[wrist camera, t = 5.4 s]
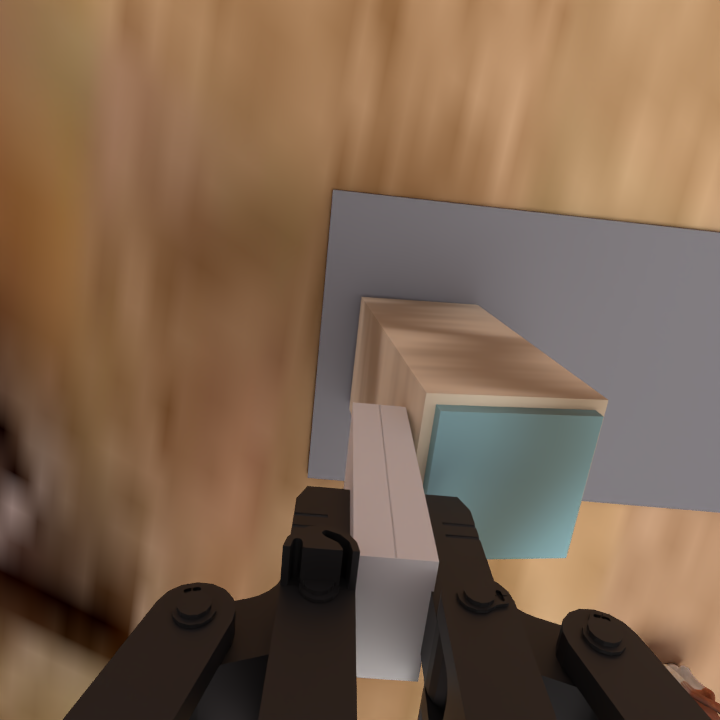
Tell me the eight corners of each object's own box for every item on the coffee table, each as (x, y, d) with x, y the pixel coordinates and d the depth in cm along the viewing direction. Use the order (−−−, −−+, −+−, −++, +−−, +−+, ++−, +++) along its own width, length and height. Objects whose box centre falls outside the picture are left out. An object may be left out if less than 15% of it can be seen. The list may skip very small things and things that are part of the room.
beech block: (348, 408, 25) (403, 569, 16) (361, 296, 24) (430, 399, 14) (458, 412, 26) (573, 566, 17) (477, 304, 25) (617, 406, 15)
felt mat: (308, 473, 28) (307, 477, 27) (333, 189, 23) (333, 189, 23) (753, 511, 29) (758, 515, 28) (854, 247, 24) (861, 248, 24)
